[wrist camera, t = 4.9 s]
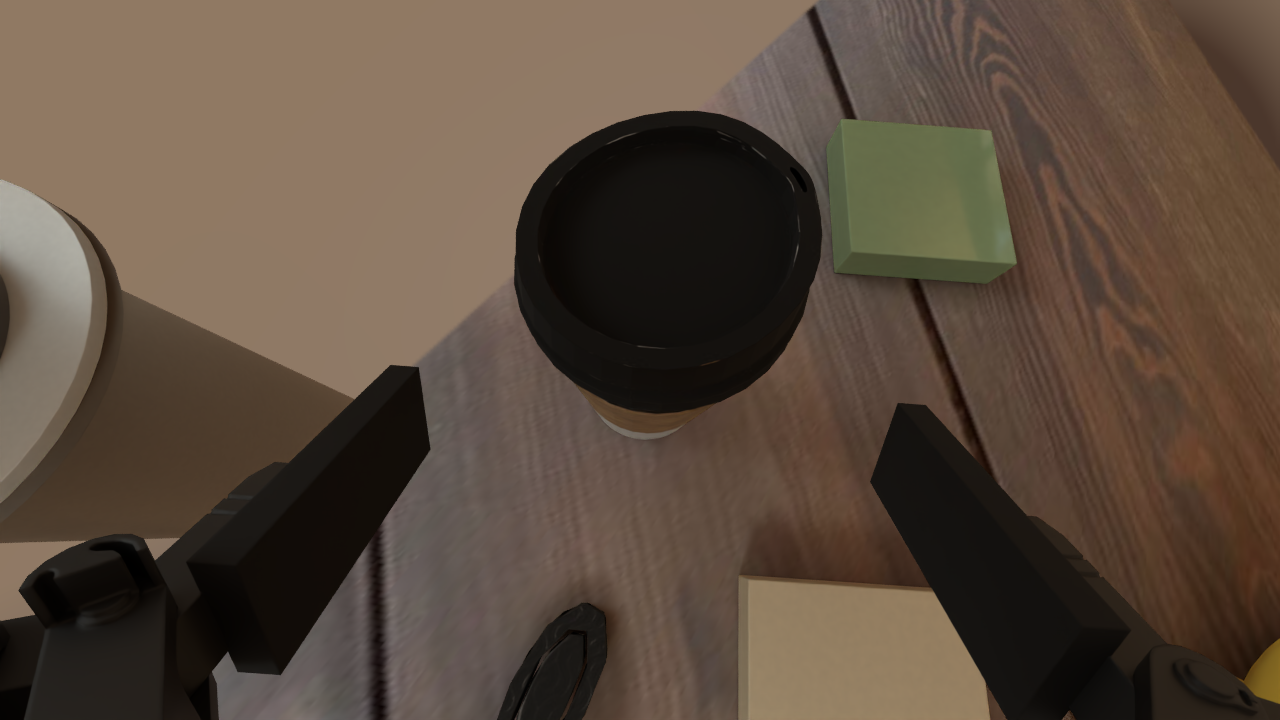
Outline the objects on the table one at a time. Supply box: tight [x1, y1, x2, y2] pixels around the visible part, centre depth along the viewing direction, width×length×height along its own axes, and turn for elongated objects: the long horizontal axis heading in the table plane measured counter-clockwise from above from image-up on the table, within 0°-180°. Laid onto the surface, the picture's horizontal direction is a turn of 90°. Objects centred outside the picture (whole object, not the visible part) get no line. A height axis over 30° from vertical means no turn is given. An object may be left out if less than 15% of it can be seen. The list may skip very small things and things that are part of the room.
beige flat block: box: [738, 575, 990, 720], centre depth 22 cm, size 10×8×2 cm
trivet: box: [826, 119, 1017, 284], centre depth 29 cm, size 9×9×2 cm
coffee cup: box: [514, 111, 822, 440], centre depth 19 cm, size 8×8×15 cm
